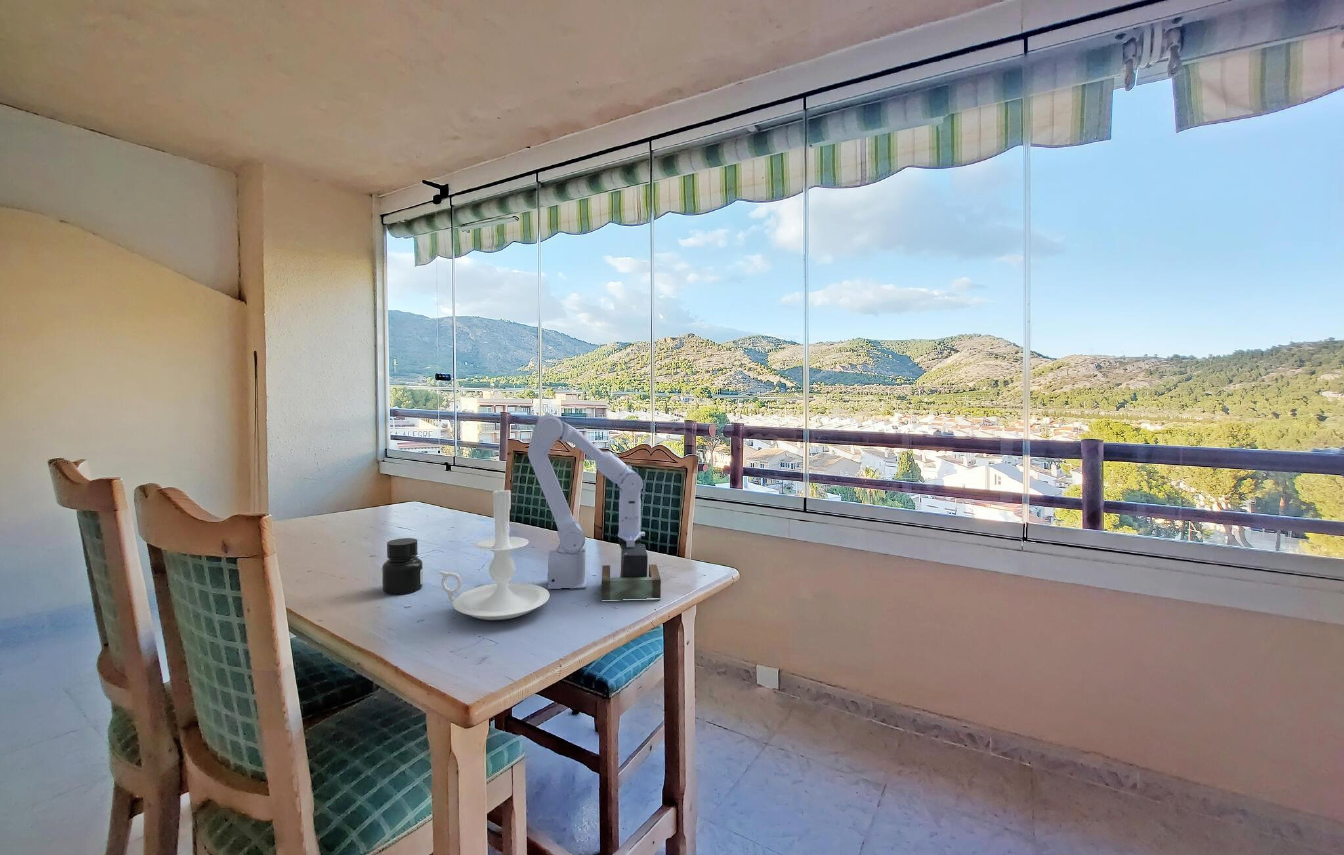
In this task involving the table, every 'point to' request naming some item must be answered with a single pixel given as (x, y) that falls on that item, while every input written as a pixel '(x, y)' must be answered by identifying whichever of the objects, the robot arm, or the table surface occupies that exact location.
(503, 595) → the candlestick
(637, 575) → the small box
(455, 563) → the table surface
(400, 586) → the ink bottle
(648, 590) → the book slot
